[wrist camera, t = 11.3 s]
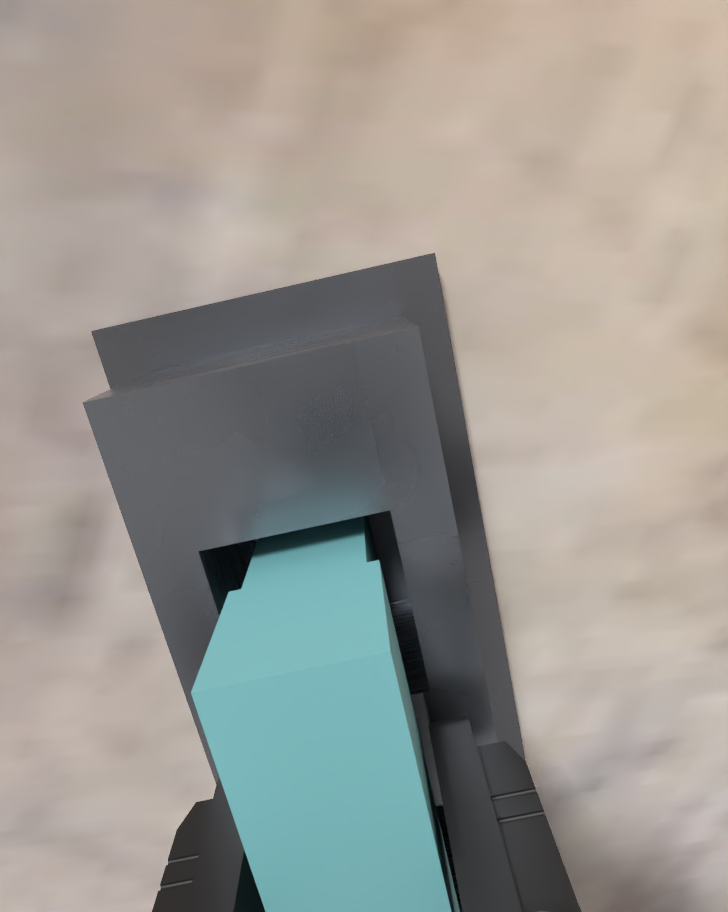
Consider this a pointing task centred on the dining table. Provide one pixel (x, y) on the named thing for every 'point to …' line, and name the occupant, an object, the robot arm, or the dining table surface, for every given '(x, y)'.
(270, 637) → the clip
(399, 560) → the grey hollow block
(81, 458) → the dining table surface
